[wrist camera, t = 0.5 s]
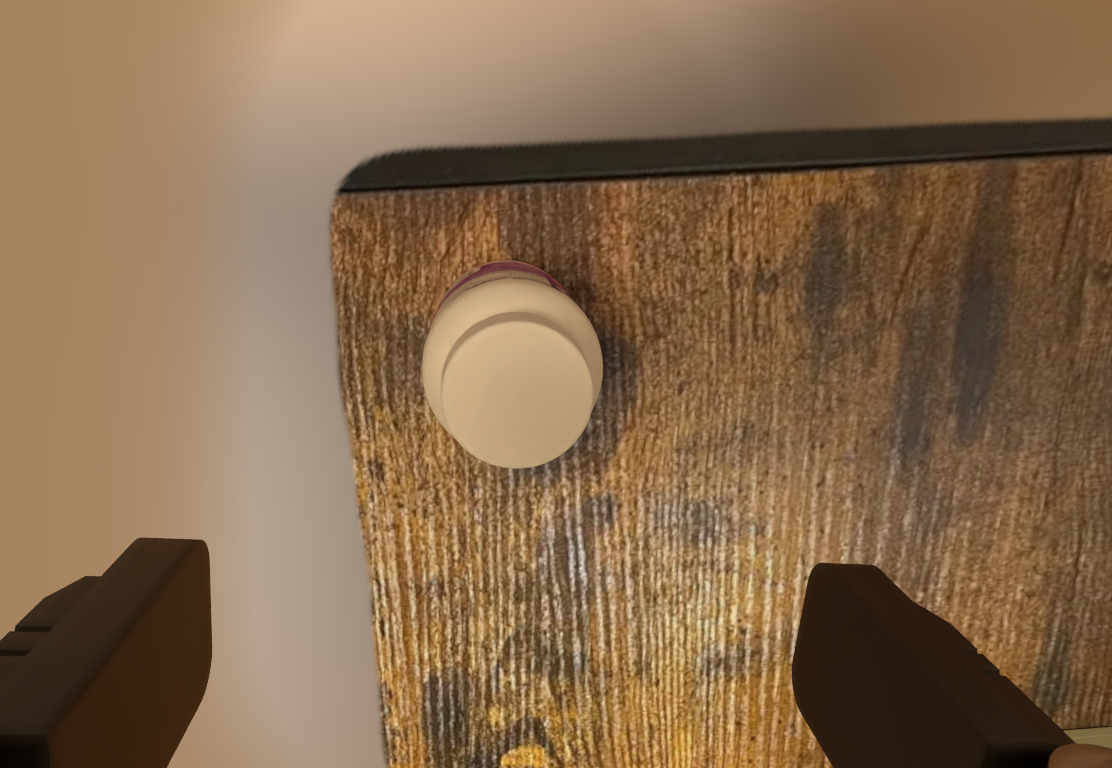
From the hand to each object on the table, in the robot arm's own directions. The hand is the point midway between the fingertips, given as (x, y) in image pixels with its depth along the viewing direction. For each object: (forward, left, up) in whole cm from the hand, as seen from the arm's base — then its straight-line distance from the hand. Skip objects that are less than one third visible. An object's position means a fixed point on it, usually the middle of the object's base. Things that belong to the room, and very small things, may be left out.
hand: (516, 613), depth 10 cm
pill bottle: (0, 0, -20) cm, 20 cm away
